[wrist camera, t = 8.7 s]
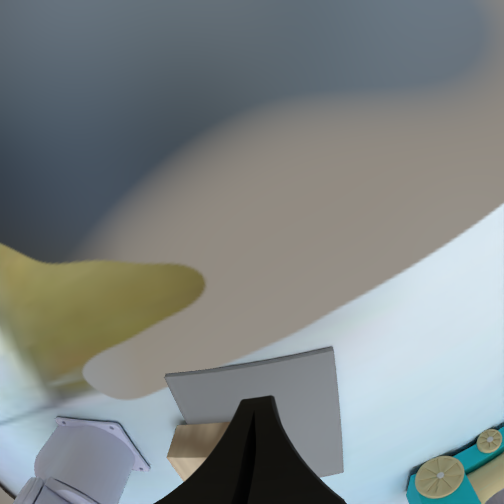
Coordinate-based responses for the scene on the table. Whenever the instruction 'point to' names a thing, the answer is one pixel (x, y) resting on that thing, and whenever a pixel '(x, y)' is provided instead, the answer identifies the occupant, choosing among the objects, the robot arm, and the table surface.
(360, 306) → the table surface
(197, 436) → the maple block
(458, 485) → the toy train
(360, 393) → the table surface
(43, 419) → the table surface
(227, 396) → the slate mat
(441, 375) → the table surface
